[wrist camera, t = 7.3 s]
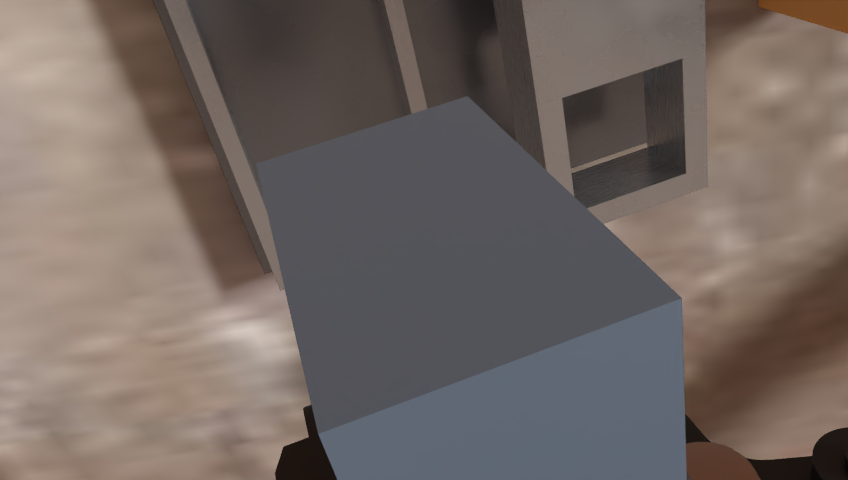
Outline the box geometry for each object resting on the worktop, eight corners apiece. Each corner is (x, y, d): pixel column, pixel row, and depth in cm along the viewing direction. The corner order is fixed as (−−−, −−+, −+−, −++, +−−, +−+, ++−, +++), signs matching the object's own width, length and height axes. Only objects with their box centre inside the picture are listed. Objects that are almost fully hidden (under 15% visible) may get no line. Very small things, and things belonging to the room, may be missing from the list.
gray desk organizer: (642, 136, 38) (853, 275, 26) (264, 266, 35) (306, 486, 23) (618, -238, 29) (917, -287, 17) (114, -103, 26) (59, -51, 15)
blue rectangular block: (467, 96, 12) (681, 298, 7) (543, 493, 17) (695, 771, 12) (256, 163, 11) (317, 434, 6) (401, 550, 17) (498, 864, 12)
